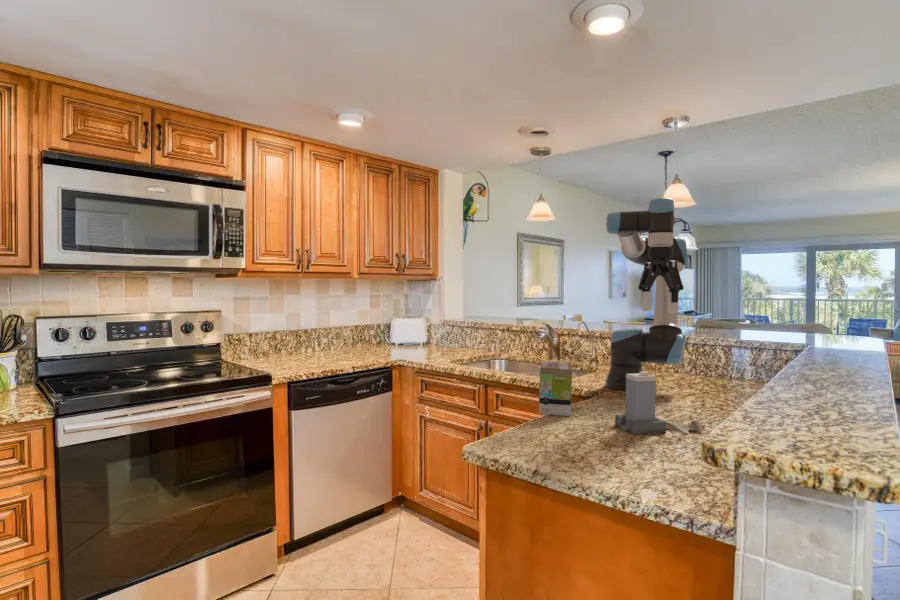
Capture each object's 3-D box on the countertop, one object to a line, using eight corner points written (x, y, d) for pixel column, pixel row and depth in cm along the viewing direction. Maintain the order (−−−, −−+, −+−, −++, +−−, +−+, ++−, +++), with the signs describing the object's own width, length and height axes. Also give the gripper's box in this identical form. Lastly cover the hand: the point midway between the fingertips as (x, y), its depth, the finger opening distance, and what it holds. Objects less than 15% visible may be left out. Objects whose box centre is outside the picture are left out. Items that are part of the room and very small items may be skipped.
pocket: (614, 425, 140) (615, 414, 140) (646, 423, 142) (646, 413, 142) (632, 434, 131) (632, 423, 131) (665, 432, 133) (666, 421, 133)
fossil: (693, 437, 130) (694, 424, 130) (653, 428, 138) (653, 416, 138) (702, 432, 135) (703, 420, 135) (663, 424, 143) (663, 412, 143)
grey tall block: (625, 423, 138) (626, 370, 138) (644, 422, 139) (645, 370, 139) (635, 428, 133) (636, 374, 133) (654, 427, 135) (655, 373, 134)
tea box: (571, 416, 149) (572, 368, 148) (538, 414, 151) (539, 367, 150) (569, 405, 163) (570, 361, 163) (539, 403, 165) (540, 360, 165)
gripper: (697, 243, 147) (695, 314, 147) (648, 249, 171) (646, 309, 172) (674, 243, 145) (673, 314, 146) (628, 249, 170) (627, 309, 170)
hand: (658, 312), depth 159 cm, fingers open, 13 cm apart
